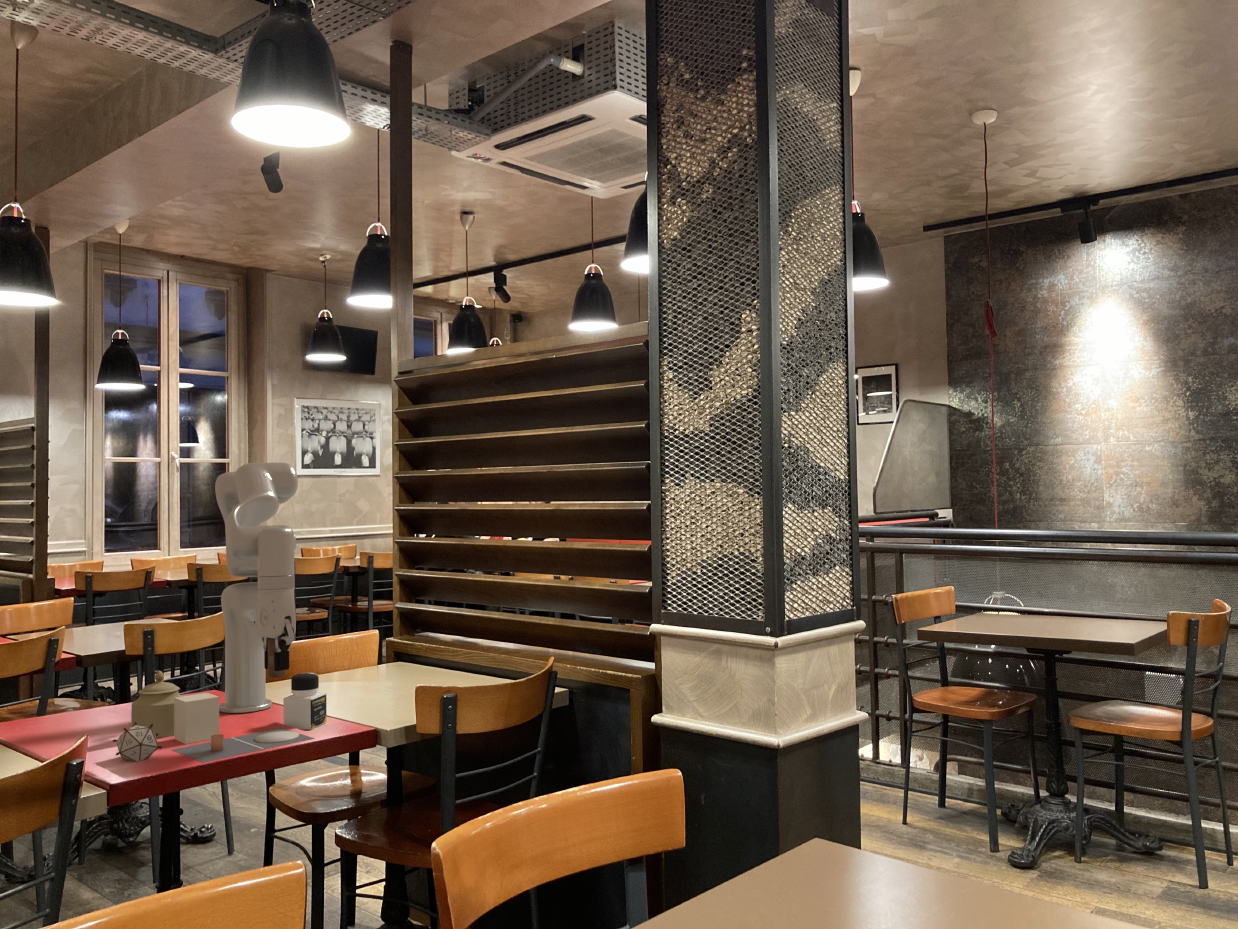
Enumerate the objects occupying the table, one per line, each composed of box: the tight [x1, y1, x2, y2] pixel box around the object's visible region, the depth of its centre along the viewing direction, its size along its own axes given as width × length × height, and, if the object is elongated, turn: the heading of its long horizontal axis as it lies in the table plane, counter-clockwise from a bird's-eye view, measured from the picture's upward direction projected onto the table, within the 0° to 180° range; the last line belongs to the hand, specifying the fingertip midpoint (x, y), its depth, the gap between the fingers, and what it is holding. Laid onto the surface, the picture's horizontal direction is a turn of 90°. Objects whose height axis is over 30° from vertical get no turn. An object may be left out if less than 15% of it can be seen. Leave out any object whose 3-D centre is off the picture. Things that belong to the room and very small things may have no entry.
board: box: [172, 727, 316, 763], centre depth 200 cm, size 15×24×4 cm, turn 137°
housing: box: [173, 692, 220, 745], centre depth 206 cm, size 7×10×7 cm
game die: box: [111, 721, 164, 762], centre depth 190 cm, size 9×8×10 cm
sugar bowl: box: [130, 670, 184, 740], centre depth 212 cm, size 15×11×15 cm
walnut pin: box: [267, 634, 287, 679], centre depth 205 cm, size 4×4×9 cm
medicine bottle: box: [282, 672, 327, 731], centre depth 220 cm, size 7×7×12 cm
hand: (276, 668), depth 205 cm, fingers closed on walnut pin, 3 cm apart
